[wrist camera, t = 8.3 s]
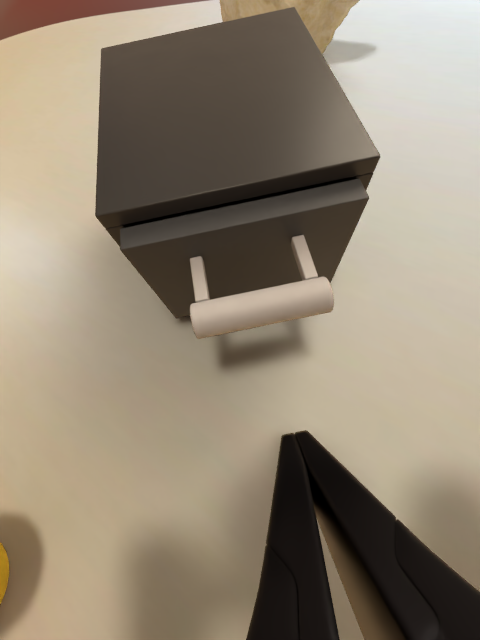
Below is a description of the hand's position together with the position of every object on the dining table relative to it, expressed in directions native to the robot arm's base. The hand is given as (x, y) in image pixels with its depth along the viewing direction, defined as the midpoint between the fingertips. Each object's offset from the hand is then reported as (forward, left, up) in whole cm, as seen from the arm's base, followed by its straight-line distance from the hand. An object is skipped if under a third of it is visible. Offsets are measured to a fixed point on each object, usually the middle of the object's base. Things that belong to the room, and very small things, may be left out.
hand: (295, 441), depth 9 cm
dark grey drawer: (+13, 0, -7) cm, 15 cm away
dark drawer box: (+17, 0, -8) cm, 18 cm away
